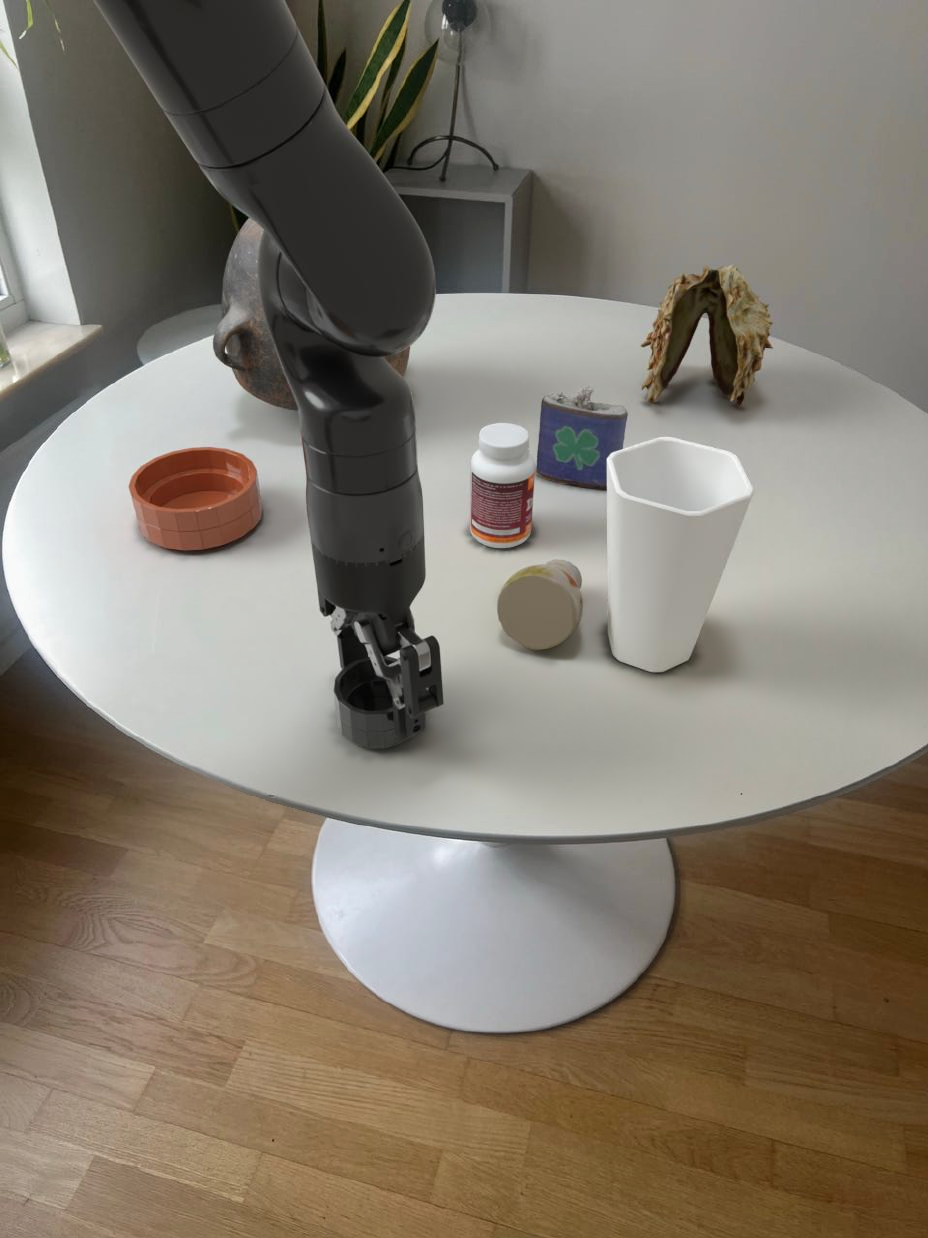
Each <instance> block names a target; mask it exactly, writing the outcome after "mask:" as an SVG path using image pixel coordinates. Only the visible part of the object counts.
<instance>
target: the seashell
mask: <svg viewBox="0 0 928 1238" xmlns="http://www.w3.org/2000/svg"><path fill="white" fill-rule="evenodd" d="M769 306H770V303H769V304H768V303H763V302H762V301H761V300H760V295H757V294H756V293H755V292H753V289H752V288H751V286H750V285H749V283H748V282H747V281H746V278H745V276H744V274H742V272H741V271H740V270H739V268H738V267H736V265H735V264H733V263H732V264H731V265H729V266H726V265H723V266H721V267H719V268H717V269H712V268H710V267H709V266H706V265H705V266H704V267H703V268H702V274H699V273H691V274H690V273H689V274H687V275H685V273H683V272H681V274H680V276H679V277H676V278H674V280H673V283H672V284H671V285H669V286H668V289H667V293H666V295H665V298H664V299H663V300H662V301H660V303H659V308H658V309H657V311H658V313H657V315H656V318H655V319H654V320H653V322H652V329H653V330H652V331H651V332H649V333H647V336H646V338H645V339H646V340H645V341H643V342H642V343H641V344H640V347H641V348H645V347H646V348H647V347H648V346H650V349H651V353H650V356H649V359H648V367H647V368H646V370H647V371H648V373H647V375H646V377H645V380H644V381H643V384H642V386H641V391H643V390H645V388H646V389H647V403H649V404H650V403H655V404H656V403H657V402H658V401H659V399H660V397H661V394H662V393H663V391H664V390H665V389H666V388H667V387H668V386H669V384H670V383H671V382H672V379H673V378H674V376H675V375H676V374H677V373H678V370H679V368H680V366H681V364H682V361H683V360H684V358H685V356H686V354H687V352H688V351H689V348H690V346H691V343H692V340H693V338H694V336H695V334H696V331H697V329H698V326H699V324H700V321H701V319H702V317H703V315H705V314H706V315H707V318H708V336H709V337H708V339H709V341H708V343H709V351H710V366H711V372H712V382H713V383H714V382H715V383H716V384H717V389H718V392H719V394H722V396H723V397H727V398H728V399H729V400H730V402H733V401H735V400H736V401H735V404H736V407H737V408H740V407H741V406H742V405H743V403H744V401H745V398H746V390H748V389H749V388H750V387H751V385H752V384H753V383H754V382H755V381H756V378H755V375H756V372H759V371H761V369H762V361H763V359H764V353H765V350H766V349H772V350H774V347H773V346H772V343H771V342H770V341H769V336H770V335H771V333H770V329H771V327H772V325H773V324H774V322H773V320H771V315H770V313H769V312H768V307H769Z"/></svg>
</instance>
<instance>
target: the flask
mask: <svg viewBox="0 0 928 1238" xmlns="http://www.w3.org/2000/svg"><path fill="white" fill-rule="evenodd" d="M594 391H595V389H594V388H593V387H590V386H589V385H588V386H586V387H585V388H584V387H583V388H582V387H581V388H579V389H578V391H577V394H578V395H575V396H574V397H571V396H570V395H569V394H563V392H562V391H560V392H558V393H547V394H546V395H545V394H544V395H543V398H541V402H540V416H539V431H538V441H537V442H538V443H537V451H536V475H537V476H539V478H543V479H544V480H547V481H552V482H555V483H559V484H563V485H569V486H575V487H576V486H577V487H580V488H581V487H583V488H589V489H594V490H599V491H601V490H602V491H603V490H604V491H605V490H607V458H608V457H609V455H610V454H611V453H612V452H615V451H618V450H621V449H624V442H625V438H626V437H625V434H626V428H627V423H628V422H627V421H628V417H629V414H628V413H629V411H628V410H627V408H626V407H625V406H623V405H620V404H610V403H602V402H593V401H592V400H591V396H592V394H593V393H594Z"/></svg>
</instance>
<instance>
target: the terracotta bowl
mask: <svg viewBox="0 0 928 1238" xmlns="http://www.w3.org/2000/svg"><path fill="white" fill-rule="evenodd" d="M259 482H260V481H259V475H258V470H257V467H256V466H255V464H254V462H253V460H252V459H250V458H248V457H247V456H246V455H244V454H242V453H240V452H238V451H235V450H232V449H229V448H222V447H214V446H199V447H188V448H184V449H178V450H173V451H170V452H167V453H165V454H162V455H159V456H156V457H154V458H152V459H150V460H149V461H147V462H145V463H144V464H142V465H140V467H139V468H138V469H137V470H136V471H135V472H134V473H133V474H132V476H131V478H130V481H129V484H128V490H129V494H130V498H131V502H132V505H133V510H134V513H135V517H136V521H137V524H138V528H139V531H140V533H141V535H142V536H144V537H145V538H146V539H147V541H149V542H150V543H152V544H154V545H157V546H160V547H161V548H165V549H169V550H178V551H200V550H208V549H214V548H217V547H221V546H223V545H227V544H229V543H231V542H233V541H236V540H239V539H241V538H242V537H244V536H245V535H246V534H248V533H249V532H250V531H252V530H253V529H254V528H255V527H256V526H257V524H258V523H259V521H260V520H261V519H262V515H263V513H262V512H263V501H262V494H261V488H260V483H259Z"/></svg>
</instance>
